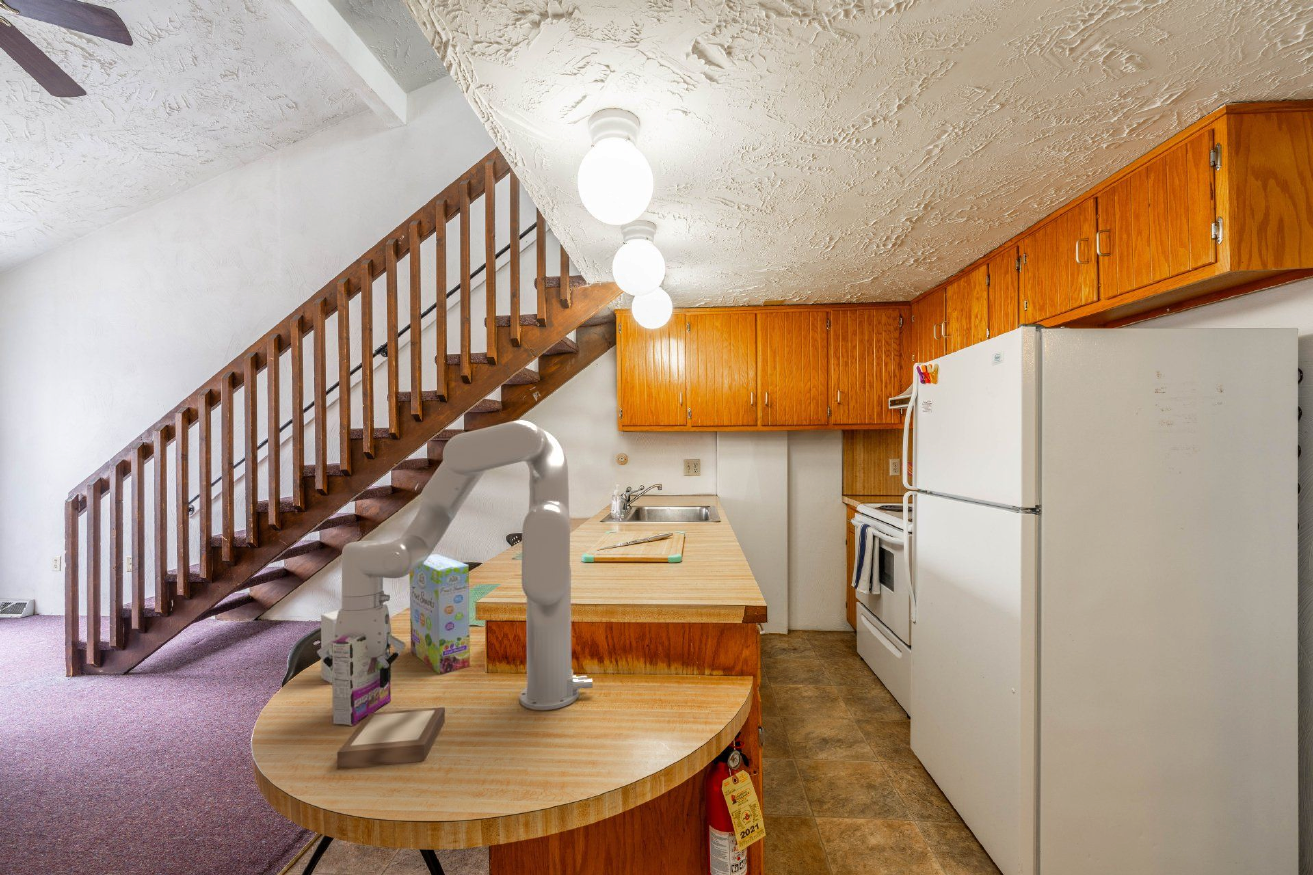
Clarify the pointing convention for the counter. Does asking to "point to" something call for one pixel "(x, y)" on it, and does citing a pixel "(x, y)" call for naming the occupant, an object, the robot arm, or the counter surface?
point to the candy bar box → (355, 682)
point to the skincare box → (327, 640)
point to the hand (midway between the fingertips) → (362, 686)
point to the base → (392, 738)
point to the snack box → (440, 613)
